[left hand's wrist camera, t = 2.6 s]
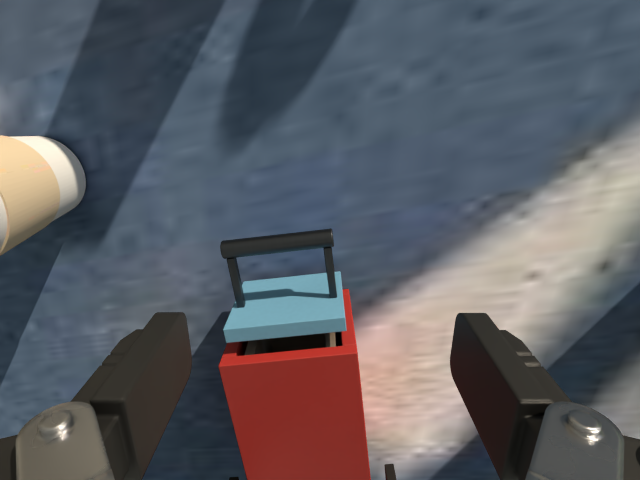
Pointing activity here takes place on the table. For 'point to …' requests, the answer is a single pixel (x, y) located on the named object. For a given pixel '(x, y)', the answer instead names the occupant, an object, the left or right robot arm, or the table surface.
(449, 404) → the table surface
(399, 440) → the table surface
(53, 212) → the coffee cup
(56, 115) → the table surface
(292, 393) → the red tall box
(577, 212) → the table surface
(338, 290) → the drawer
